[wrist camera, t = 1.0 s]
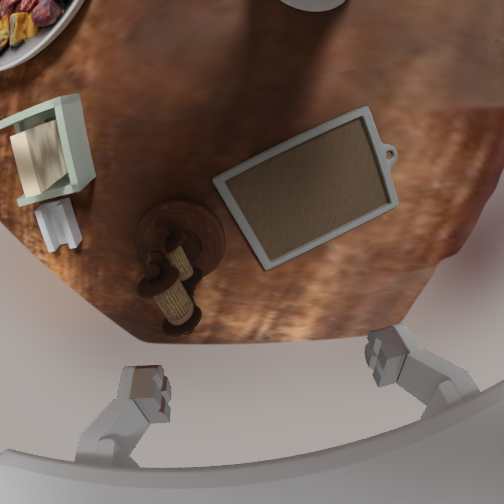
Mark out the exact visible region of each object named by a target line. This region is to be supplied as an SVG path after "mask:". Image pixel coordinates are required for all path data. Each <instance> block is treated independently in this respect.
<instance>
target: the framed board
mask: <svg viewBox="0 0 504 504" xmlns="http://www.w3.org/2000/svg"><path fill="white" fill-rule="evenodd" d="M388 151H392V154H393V155H392V157H391V158H390V159H387V158H386V156H387V153H386V152H388ZM396 159H397V151H396V149H395V148H394V147H393V146H391V145H389V144H383V143H382V142H381V141H380V138H379V135H378V132H377V129H376V126H375V123H374V121H373V118H372V115H371V112H370V110H369V107H368V106H363V107H361V108H358V109H356V110H354V111H351V112H349V113H346V114H344V115H342V116H339V117H337V118H335V119H333V120H330V121H328V122H326V123H324V124H321V125H319V126H317V127H315V128H312V129H310V130H308V131H306V132H304V133H302V134H299V135H297V136H295V137H293V138H291V139H289V140H287V141H285V142H282V143H280V144H278V145H276V146H274V147H272V148H270V149H268V150H266V151H264V152H262V153H260V154H258V155H256V156H254V157H252V158H250V159H248V160H246V161H244V162H242V163H240V164H238V165H236V166H234V167H233V168H231V169H229V170H227V171H225V172H223V173H221V174H219V175H217V176H216V177H214V178H213V179H212V181H213V183H214V185H215V187H216V188H217V190H218V192H219V193H220V195H221V197H222V198H223V200H224V202H225V203H226V205H227V207H228V208H229V210H230V212H231V213H232V215H233V217H234V219H235V220H236V222H237V224H238V225H239V227H240V229H241V230H242V232H243V234H244V235H245V237H246V239H247V240H248V242H249V244H250V245H251V247H252V249H253V250H254V252H255V254H256V256H257V257H258V259H259V261H260V262H261V264H262V266H263V267H264V269H265V270H269V269H271V268H273V267H275V266H277V265H279V264H281V263H284V262H286V261H288V260H290V259H292V258H294V257H296V256H298V255H300V254H302V253H304V252H306V251H308V250H310V249H312V248H314V247H316V246H318V245H321V244H323V243H325V242H327V241H329V240H331V239H333V238H335V237H337V236H339V235H341V234H343V233H345V232H347V231H349V230H351V229H353V228H355V227H357V226H359V225H361V224H363V223H365V222H367V221H369V220H371V219H373V218H375V217H377V216H379V215H381V214H383V213H385V212H387V211H389V210H391V209H392V208H394V207H396V206H398V205H399V202H398V198H397V195H396V191H395V187H394V184H393V180H392V176H391V167H392V166H393V164H394V163H395V161H396Z"/></svg>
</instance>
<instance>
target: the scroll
mask: <svg viewBox="0 0 504 504" xmlns="http://www.w3.org/2000/svg"><path fill="white" fill-rule="evenodd" d="M136 248H137V251H138V254H139V256H140V258H141V260H142V261H143V263H144V264H145V265H146V268H145V271H144V273H145V277H144V278H143V279H142V280H141V281H140V283H139V285H138V287H137V293H138V294H139V295H140V296H141V297H144V298H149V297H153V298H154V299H155V301H156V302H157V304H158V306H159V307H160V309H161V310H162V312H163V313H164V315H165V317H166V318H165V319H164V321H163V324H162V329H163V331H164V333H165V334H166V335H168V336H172V337H176V336H181V335H189V334H191V333H192V332H193V330H194V328H195V327H196V326H197V324H198V323H199V321H200V319H201V316H202V312H201V310H200V308H199V307H198V306H196V304H195V301H194V299H193V296H194V290H195V289H196V285H197V284H198V283H199V282H200V281H201V279H202V277H204V276H205V275H207V274H209V273H210V272H211V271H213V270H214V269H215V268H216V266H217V265H218V264H219V262H220V261H221V259H222V257H223V254H224V250H225V234H224V230H223V227H222V225H221V223H220V221H219V219H218V218H217V217H216V215H215V214H214V213H213V212H212V211H211V210H209V209H208V208H207V207H205V206H204V205H202V204H200V203H198V202H195V201H191V200H186V199H172V200H167V201H164V202H161V203H159V204H157V205H155V206H153V207H152V208H151V209H150V210H149V211H147V213H146V214H145V215H144V216H143V218H142V219H141V221H140V223H139V226H138V228H137V232H136Z"/></svg>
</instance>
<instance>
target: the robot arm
mask: <svg viewBox="0 0 504 504" xmlns="http://www.w3.org/2000/svg"><path fill="white" fill-rule="evenodd" d="M280 1H282V2H284V3H285V4H287V5H289V6H291V7H294V8H297V9H300V10H305V11H312V12H319V11H327V10H330V9H333V8H336V7H338V6H339V5H341V4H342V3H343V2H344V1H345V0H280ZM367 338H368V341H369V342H368V344H367V345H366V346H365V358H366V361H367V364H368V366H369V367H370V368H372V369H373V370H374V372H373V377H374V379H375V381H376V384H377V386H378V387H382V386H386V385H389V384H393V383H397V384H398V385H399V386H401V387H402V388H404V389H405V390H406V391H408V392H409V393H410V394H412V395H413V396H414V397H416V398H417V399H419V400H420V401H421V402H422V403H424V404H425V405H427V408H426V409H425V411H424V413H423V414H422V416H421V420H418V421H416V422H413V423H410V424H408V425H405V426H403V427H399V428H397V429H394V430H391V431H388V432H385V433H382V434H379V435H375V436H372V437H369V438H366V439H362V440H359V441H355V442H352V443H348V444H344V445H341V446H336V447H332V448H328V449H324V450H320V451H315V452H311V453H306V454H301V455H296V456H291V457H285V458H279V459H273V460H266V461H259V462H251V463H244V464H234V465H223V466H210V467H194V468H193V467H191V468H139V465H138V464H137V463H136V462H135V461H134V460H133V459H131V457H129V455H130V454H131V452H132V451H133V449H134V448H135V446H136V445H137V443H138V442H139V440H140V439H141V437H142V436H143V434H144V433H145V431H146V430H147V428H148V427H149V425H150V424H149V423H165V422H170V407H169V405H168V402H169V401H170V400H171V386H170V383H169V380H168V378H167V377H166V376H164V370H163V368H162V366H161V365H149V366H128V367H124V368H123V370H122V374H121V379H120V384H119V389H118V394H117V399H114V400H112V402H111V403H110V404H109V405H108V406H107V407H106V408H105V409H104V410H103V411H102V412H101V413H100V414H99V416H98V417H97V418H96V419H95V420H94V421H93V422H92V423H91V424H90V425H89V426H88V427H87V428H86V429H85V431H84V432H83V433H82V434H81V435H80V437H79V441H78V447H77V451H76V457H75V462H71V461H65V460H59V459H53V458H47V457H42V456H38V455H33V454H28V453H24V452H20V451H16V450H10V449H7V450H4V451H3V452H1V453H0V504H504V380H503V381H501V382H499V383H497V384H496V385H494V386H492V387H490V388H488V389H486V390H484V391H483V392H480V391H479V389H478V387H477V386H476V384H475V383H474V381H473V379H472V378H471V376H470V375H469V373H468V372H467V371H466V370H464V369H462V368H460V367H458V366H456V365H454V364H453V363H451V362H449V361H447V360H445V359H443V358H441V357H439V356H437V355H435V354H433V353H431V352H430V351H428V350H426V349H422V350H421V348H420V346H419V345H418V343H417V342H416V340H415V339H414V337H413V336H412V334H411V333H410V331H409V329H408V328H407V326H406V325H405V324H404V323H400V324H396V325H392V326H387V327H384V328H380V329H376V330H372V331H370V332H369V333H368V337H367Z"/></svg>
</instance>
